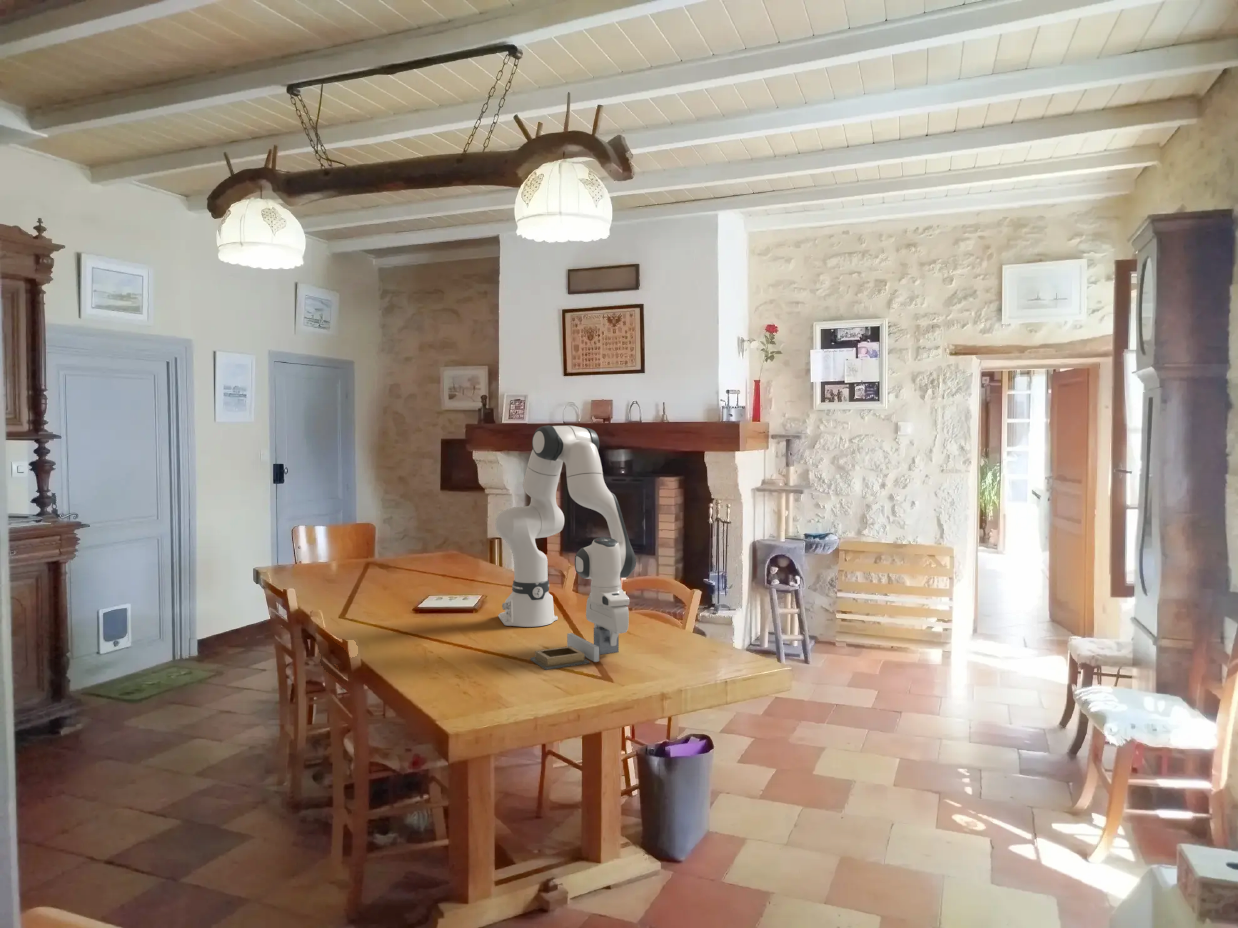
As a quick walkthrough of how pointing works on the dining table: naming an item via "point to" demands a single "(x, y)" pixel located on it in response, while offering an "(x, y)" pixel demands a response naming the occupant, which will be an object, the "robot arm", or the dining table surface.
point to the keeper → (559, 657)
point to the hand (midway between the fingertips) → (606, 642)
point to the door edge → (583, 647)
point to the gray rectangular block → (604, 641)
